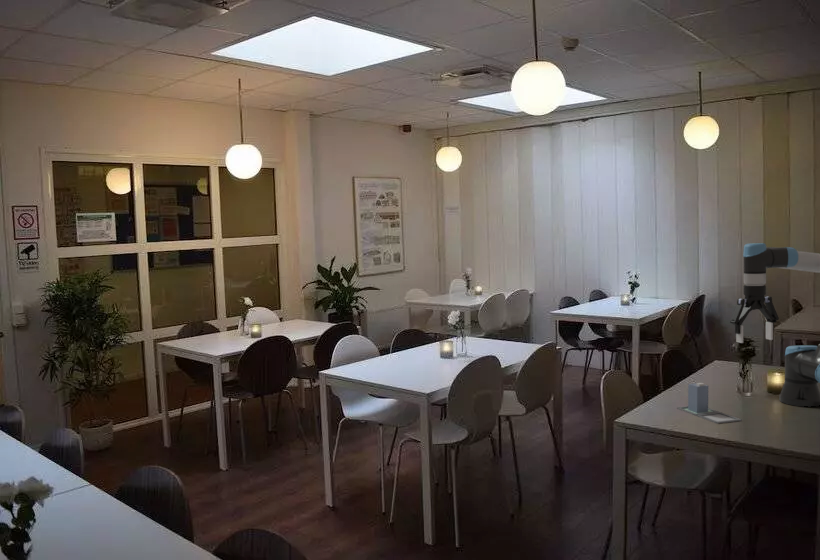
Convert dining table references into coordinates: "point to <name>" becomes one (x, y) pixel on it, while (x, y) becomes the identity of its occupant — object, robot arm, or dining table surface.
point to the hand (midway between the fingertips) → (754, 341)
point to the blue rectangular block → (698, 397)
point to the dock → (712, 415)
